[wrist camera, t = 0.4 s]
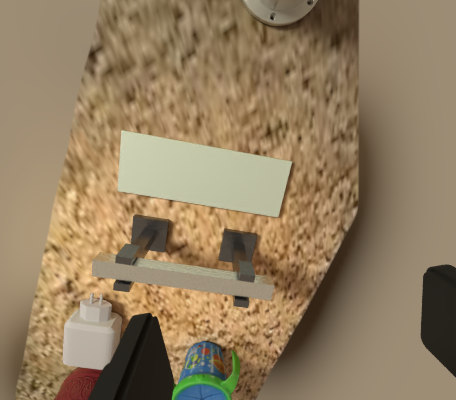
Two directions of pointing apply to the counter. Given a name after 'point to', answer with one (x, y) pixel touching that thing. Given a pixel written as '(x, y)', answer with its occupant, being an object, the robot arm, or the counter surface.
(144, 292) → the counter surface
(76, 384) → the canister
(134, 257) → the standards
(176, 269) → the rail
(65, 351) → the charger
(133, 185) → the board
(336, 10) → the counter surface
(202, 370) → the snack cup
